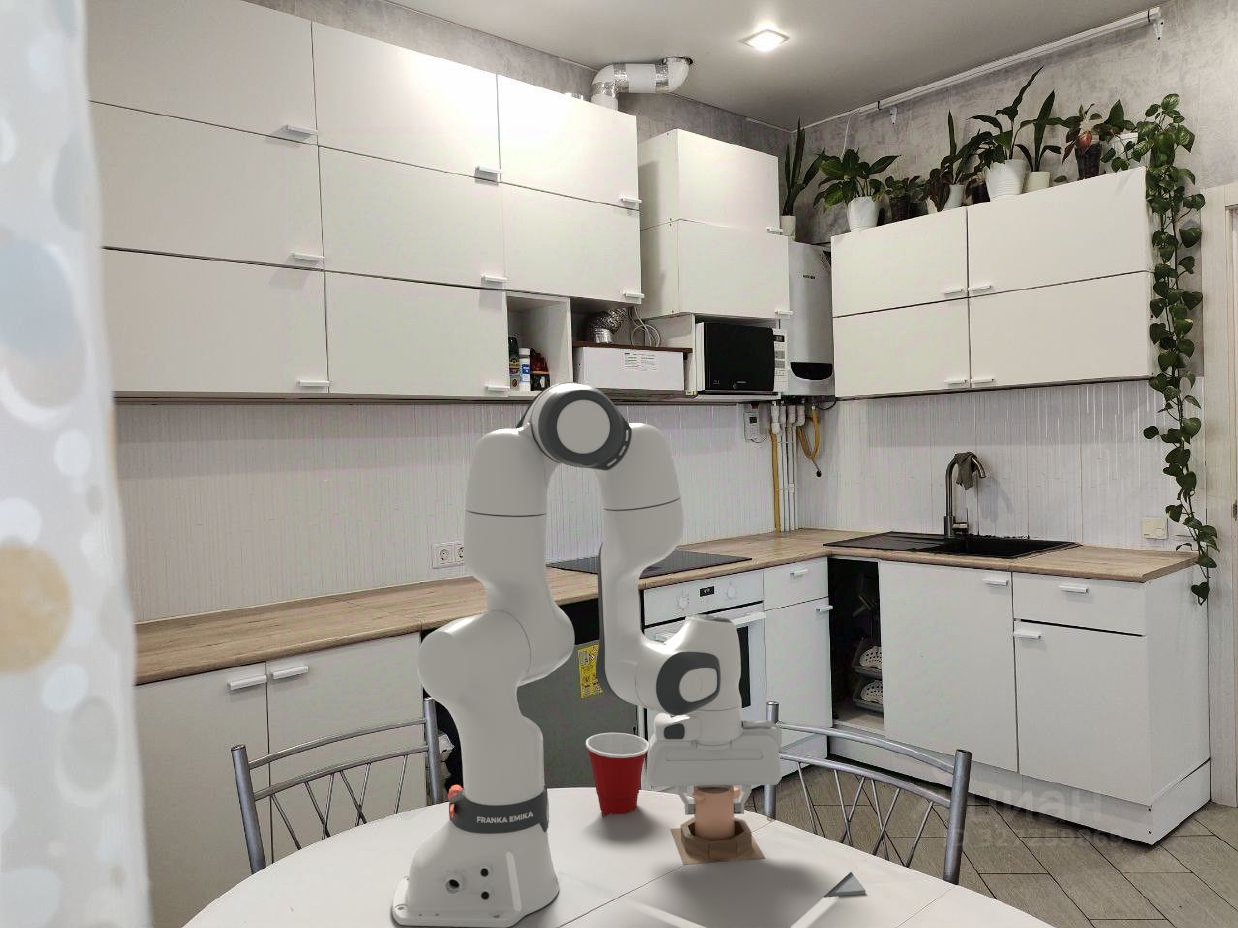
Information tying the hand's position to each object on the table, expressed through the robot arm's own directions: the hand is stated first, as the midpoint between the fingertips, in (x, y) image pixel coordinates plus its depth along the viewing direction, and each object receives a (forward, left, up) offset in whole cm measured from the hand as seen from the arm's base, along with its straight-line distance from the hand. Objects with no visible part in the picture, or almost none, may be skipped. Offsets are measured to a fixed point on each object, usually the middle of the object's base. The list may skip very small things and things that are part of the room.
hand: (714, 812), depth 132 cm
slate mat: (+12, -11, -6) cm, 17 cm away
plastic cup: (-13, +16, -6) cm, 21 cm away
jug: (0, 0, -4) cm, 4 cm away
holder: (0, 0, -6) cm, 6 cm away
